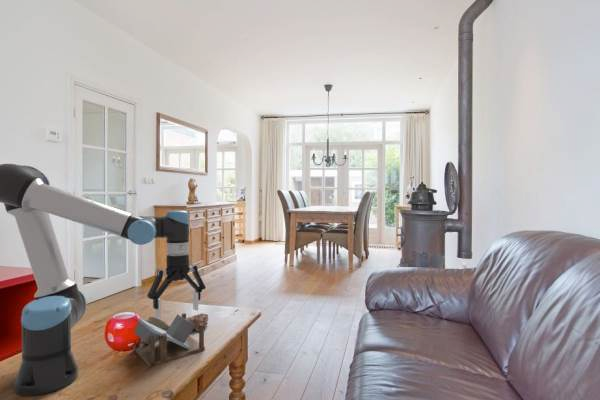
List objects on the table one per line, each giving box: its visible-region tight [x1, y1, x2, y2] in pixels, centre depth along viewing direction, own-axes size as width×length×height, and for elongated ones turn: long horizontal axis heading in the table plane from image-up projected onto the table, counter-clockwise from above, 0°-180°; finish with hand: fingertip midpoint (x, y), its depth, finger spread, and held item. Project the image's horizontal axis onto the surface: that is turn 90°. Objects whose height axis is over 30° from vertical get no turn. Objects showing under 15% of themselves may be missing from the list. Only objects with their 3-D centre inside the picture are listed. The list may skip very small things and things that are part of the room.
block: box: [166, 314, 195, 343], centre depth 128 cm, size 6×6×7 cm
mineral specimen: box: [186, 313, 209, 332], centre depth 146 cm, size 12×8×7 cm
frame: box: [133, 312, 206, 367], centre depth 126 cm, size 19×18×9 cm
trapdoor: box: [133, 318, 191, 349], centre depth 124 cm, size 16×13×4 cm
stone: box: [147, 315, 170, 332], centre depth 139 cm, size 10×7×10 cm
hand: (177, 313), depth 128 cm, fingers open, 13 cm apart
